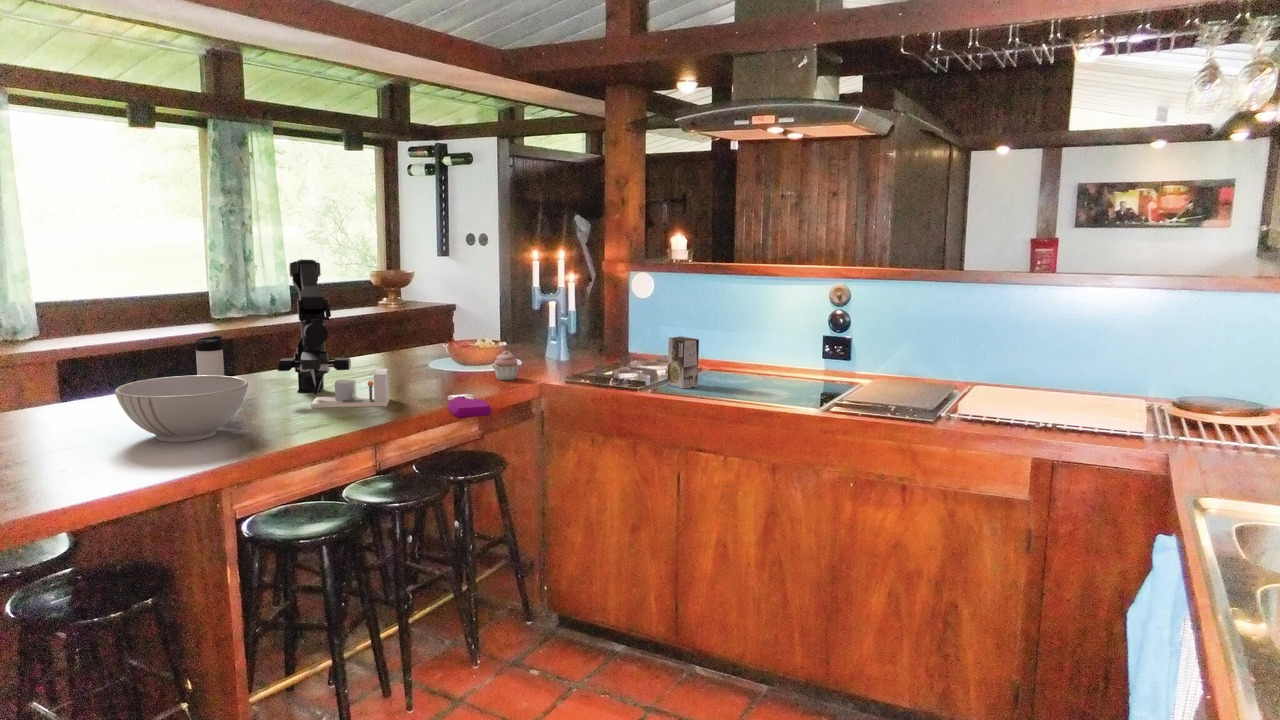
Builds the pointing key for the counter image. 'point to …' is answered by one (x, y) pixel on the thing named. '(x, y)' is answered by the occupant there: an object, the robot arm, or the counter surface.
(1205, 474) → the counter surface
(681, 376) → the coffee box
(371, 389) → the drag needle
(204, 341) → the travel mug
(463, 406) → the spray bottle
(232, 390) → the decorative bowl
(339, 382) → the block
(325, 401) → the base
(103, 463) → the counter surface
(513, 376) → the cupcake
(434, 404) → the counter surface
